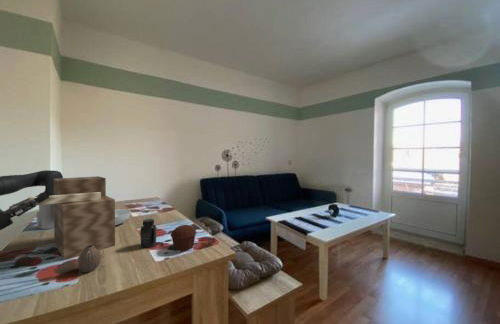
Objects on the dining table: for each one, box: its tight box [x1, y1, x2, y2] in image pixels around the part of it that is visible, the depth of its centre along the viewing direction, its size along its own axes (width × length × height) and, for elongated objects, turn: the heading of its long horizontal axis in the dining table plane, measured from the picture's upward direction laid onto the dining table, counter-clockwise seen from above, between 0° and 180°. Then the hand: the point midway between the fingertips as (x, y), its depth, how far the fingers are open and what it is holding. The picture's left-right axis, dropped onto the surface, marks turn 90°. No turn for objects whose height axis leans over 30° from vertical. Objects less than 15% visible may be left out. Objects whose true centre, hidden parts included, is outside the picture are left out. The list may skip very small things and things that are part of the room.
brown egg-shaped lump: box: [76, 245, 102, 273], centre depth 76 cm, size 7×7×9 cm
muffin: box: [170, 224, 198, 252], centre depth 95 cm, size 12×11×10 cm
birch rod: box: [28, 192, 101, 206], centre depth 88 cm, size 23×3×3 cm, turn 140°
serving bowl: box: [115, 208, 132, 226], centre depth 125 cm, size 21×21×7 cm
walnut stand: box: [53, 175, 116, 261], centre depth 97 cm, size 18×26×31 cm
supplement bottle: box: [139, 218, 157, 248], centre depth 97 cm, size 7×7×12 cm
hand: (47, 194), depth 83 cm, fingers open, 3 cm apart
